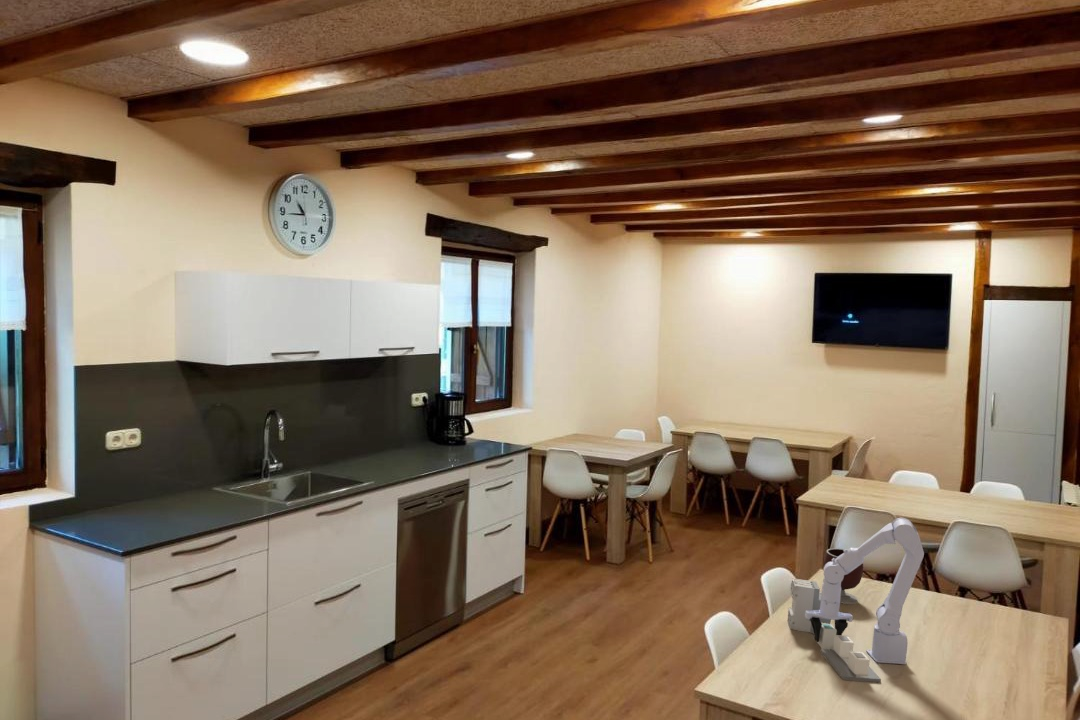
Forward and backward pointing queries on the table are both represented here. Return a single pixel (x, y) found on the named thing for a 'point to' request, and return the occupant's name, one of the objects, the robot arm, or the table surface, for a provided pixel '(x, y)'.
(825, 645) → the block
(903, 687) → the table surface
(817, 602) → the circuit breaker
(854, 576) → the mate gourd
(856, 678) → the board
